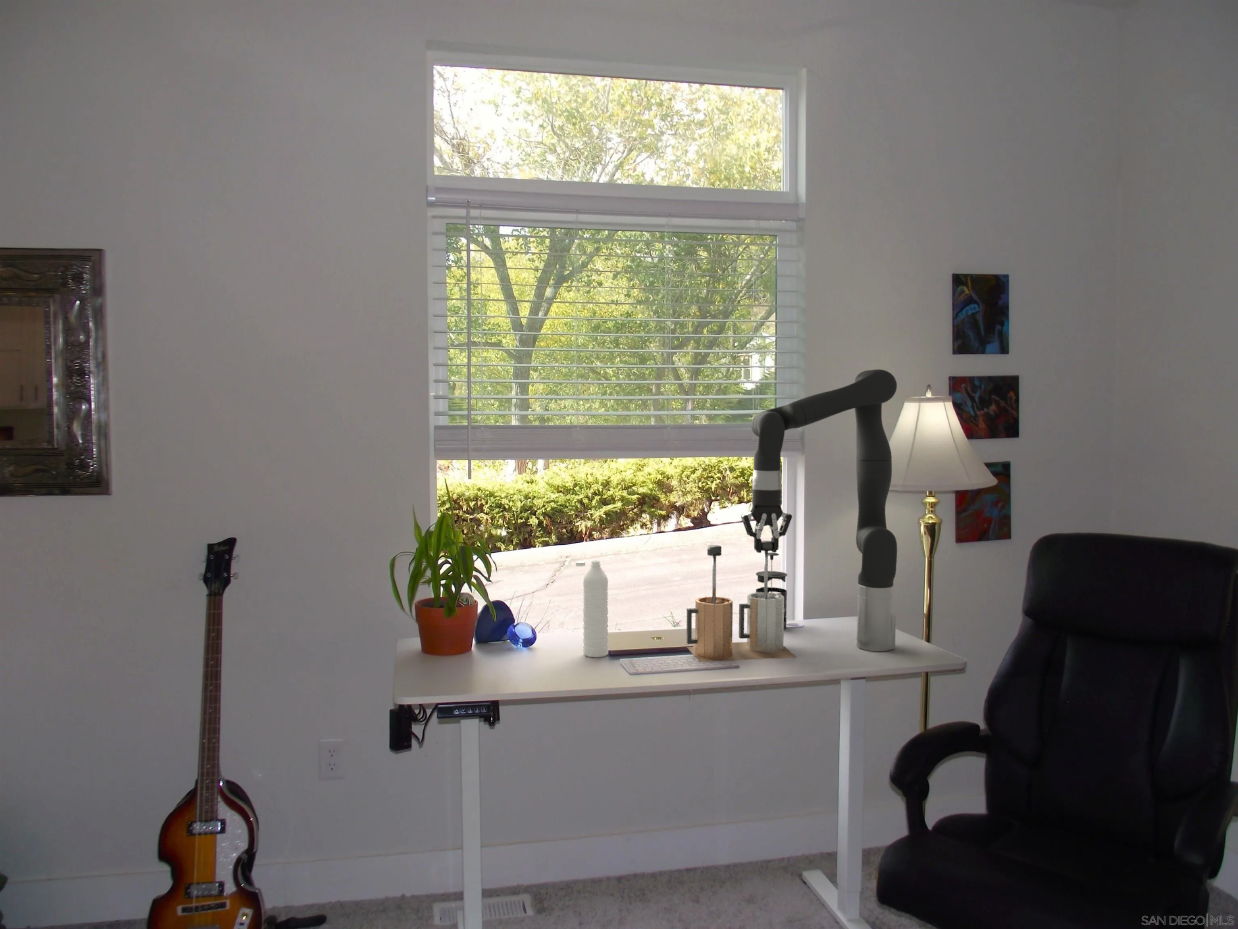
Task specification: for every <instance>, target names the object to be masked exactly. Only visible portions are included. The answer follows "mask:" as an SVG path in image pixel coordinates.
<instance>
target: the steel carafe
mask: <svg viewBox="0 0 1238 929" xmlns="http://www.w3.org/2000/svg"><path fill="white" fill-rule="evenodd" d="M776 593H777V592H772V593H771V592H769V593H768V595H767V597H769V598H775V599H757V598H758V597H764V592H758V593H756V592H751V593H749V594H747V600H746V601H747V602H746V603H738V638H739V639H743V640H744V639H746V642H747V648H748V649H749V650H752V651H755V652H762V653H775V652H779V651H782V650H783V646H784V641H785V640H784V639H785V638H784V637H785V636H784V633H785V631H784V630H785V629H784V596H783V595H781V594H776ZM745 609H746V610H747V612H746V614H747V618H746V620H747V621H746V622H747V623H746V632H745Z"/></svg>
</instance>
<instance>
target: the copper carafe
mask: <svg viewBox="0 0 1238 929" xmlns="http://www.w3.org/2000/svg"><path fill="white" fill-rule="evenodd" d="M733 601H734V600H732V599H731V598H728V597H723V596H716V603H719V604H708V603H712V596H701V597H698V598H696V599H695V601H694V602H695V606H694V607H691V608H686V645H689V644H695V653H696V655H697V656H700V657H703V658H711V659H720V658H727V657H730V656H731V655H732V643H733V620H734V619H733V613H734V612H733V608H734V606H733V604H734V602H733ZM692 614H695V619H694V622H695V623H694V624H695V625H694V628H695V630H694V633H695V634H694V635H695V636H694V638H693V637H692V635H693V634H692V633H693V631H692V628H693V626H692V624H693V622H692V620H693V619H692V618H693V615H692Z"/></svg>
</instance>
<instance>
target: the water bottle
mask: <svg viewBox="0 0 1238 929" xmlns="http://www.w3.org/2000/svg"><path fill="white" fill-rule="evenodd" d="M589 565H590V567H589V568H588V570H587V571H586V573H585V575H584V577H583V583H582V586H583V591H582V592H583V626H582V627H583V633H582V635H583V646H582V647H583V656H585V657H589V658H603V657H606V656H607V655H608V654H609V646H608V645H609V637H608V636H609V630H608V628H609V625H608V622H609V617H608V615H609V610H608V609H609V608H608V606H609V601H608V600H609V592H608V588H609V586H608V585H609V584H608V583H609V579H608V576H607V574H606V573H605V571H604V570H603V568H602V566H601V565H602V564H601V561H600V560H591V561H590V564H589ZM575 566H576V567H586V561H583V560H580V561H579V560H578V561H575Z"/></svg>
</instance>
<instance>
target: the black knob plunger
mask: <svg viewBox="0 0 1238 929" xmlns="http://www.w3.org/2000/svg"><path fill="white" fill-rule="evenodd" d="M706 547H707V549H706V550H707V556H709V557H710V556H711V557H712V574H711V575H712V580H711V581H712V582H711V583H712V586H711V589H712V592H711V594H712V595H711V597H712V603H708V604H719V603H716V597H717V596H716V595H717V557H721V556H722V546H721V545H714V544H712V545H707V546H706Z"/></svg>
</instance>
